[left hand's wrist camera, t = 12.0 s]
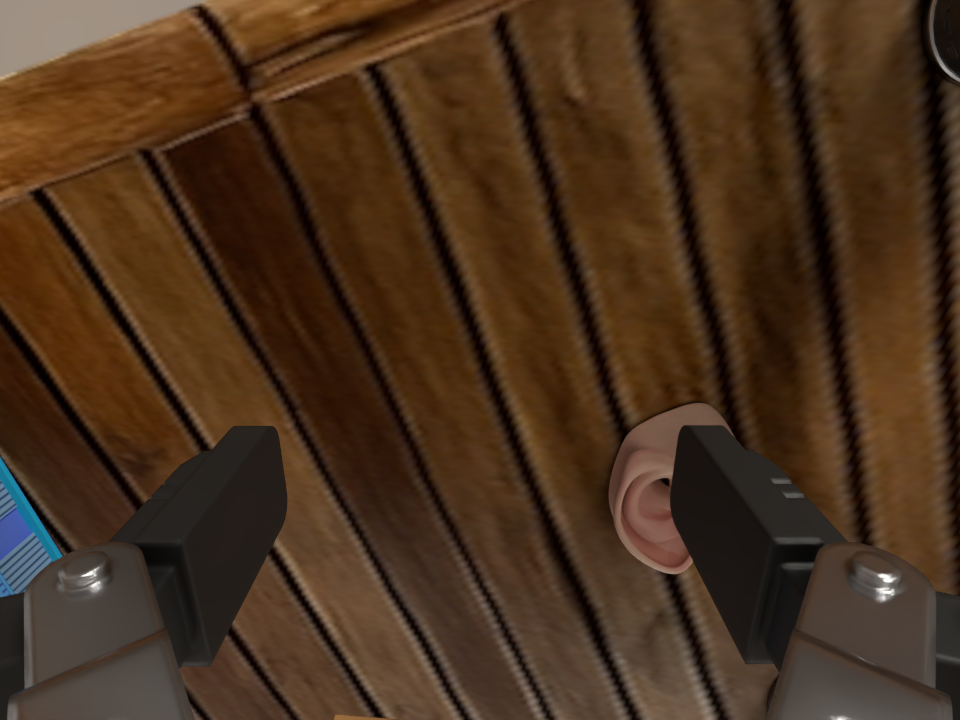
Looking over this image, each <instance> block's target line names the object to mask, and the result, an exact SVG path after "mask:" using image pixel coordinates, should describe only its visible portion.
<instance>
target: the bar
mask: <svg viewBox="0 0 960 720" xmlns="http://www.w3.org/2000/svg"><path fill="white" fill-rule="evenodd" d="M334 720H397V719H384V718H372V717H360V716H348V715H335V716H334Z"/></svg>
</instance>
